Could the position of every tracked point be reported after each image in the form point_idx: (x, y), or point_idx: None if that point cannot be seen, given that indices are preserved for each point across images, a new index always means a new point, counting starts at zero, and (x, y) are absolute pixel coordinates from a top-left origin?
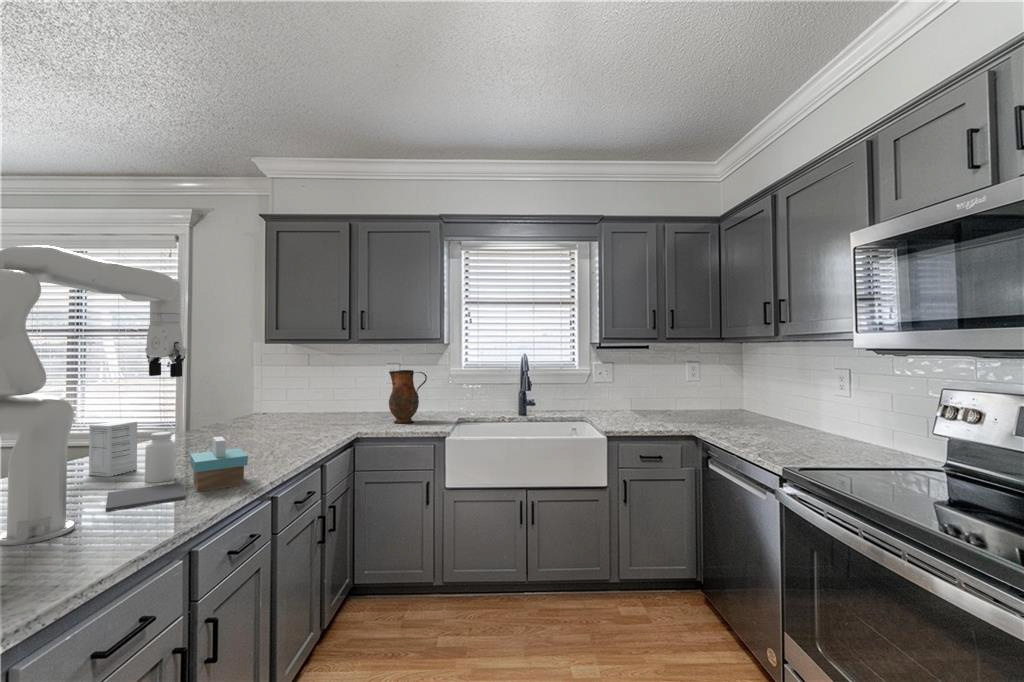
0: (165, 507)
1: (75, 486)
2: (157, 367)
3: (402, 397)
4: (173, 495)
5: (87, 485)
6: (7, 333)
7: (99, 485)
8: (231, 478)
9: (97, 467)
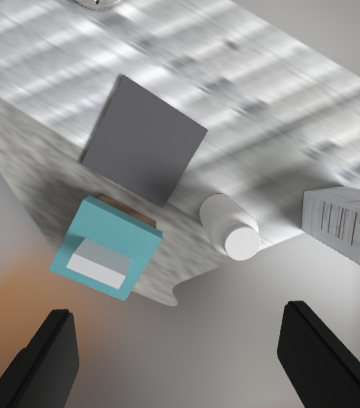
0: (64, 124)
1: (301, 140)
2: (315, 395)
3: None
4: (99, 158)
5: (290, 151)
6: None
7: (272, 158)
8: None
9: (337, 190)
